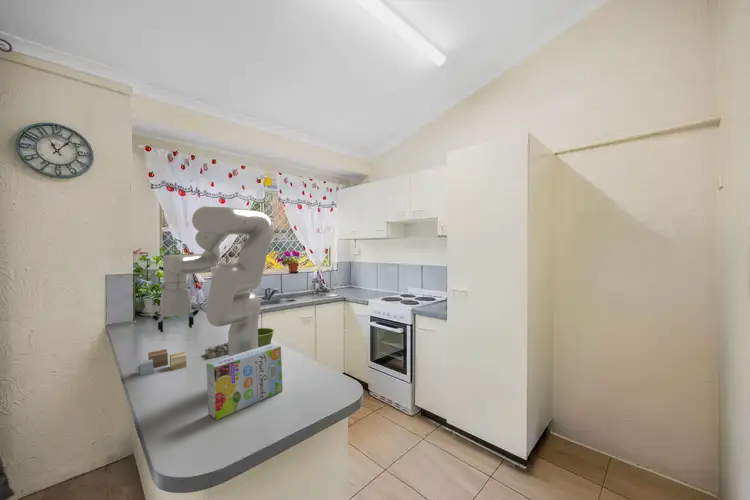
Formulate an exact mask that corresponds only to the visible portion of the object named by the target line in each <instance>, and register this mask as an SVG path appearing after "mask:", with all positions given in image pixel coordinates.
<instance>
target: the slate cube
mask: <svg viewBox="0 0 750 500" xmlns="http://www.w3.org/2000/svg"><path fill="white" fill-rule="evenodd" d="M153 373H154V368H153V359H151V360H148V359H146V360H141V361H139V375H140V376H144V375H148V374H153Z"/></svg>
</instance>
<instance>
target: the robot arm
mask: <svg viewBox="0 0 750 500" xmlns="http://www.w3.org/2000/svg"><path fill="white" fill-rule="evenodd" d="M192 214H193V215H192V217H191V223H192V225H193V228H194V229H195V230H197V233H195V237H194V240H195V242H196V244H197V245H198V246H199V247H200V248H202V249H203V250H204V251H203V252H202V253H195V254H166V255H164V257H163V261H162V263H163V265H162V266H163V283H160V284H159V285H158V287H159V289H161V288H162V290H161V295H160V301H159V302H160V303H159V305H157V306H156V307H154V308H152V309H150V310H148V314H149V316H150V317H151V318H152V319H153V320H155V321H156V322H157V330H158V331H160V333H163V332H164V321H163V320H164V318H169V317H177V316H184V315H188V327H189V329H193V326H194V323H195V322H194V318H195V316H196V315H197V314H198V313H199V312H200V309H201V308H202V306H201V304H197V303H195V302H192V296H191V291H190V289H189V288H188V287H187V286H188V285H187V281H188V280H187V275H193V274H194V275H195V274H204V273H207V272H209V271H210V270H212V268H213V267H215V265H216V264H217V263H218V261H219V259H220V254H221V249H220V246H221V245H222V244H223V242H224V241H225V240H226V239H227V238H228V237H229V235H238V236H239V235H240V236H241V235H244V236H245V235H247V236H248V238H247V239H246V240H245V241H244V243H243V244H242V246H241V248H240V250H239V256H238V259H237V262H235V263H227V264H223V265H221V266H219V267H217V268H216V270H215V271H214V272H213V275H212V277H211V280H210V285H209V286H210V287H209V291H208V292H209V293H208V298H207V302H206V310H205V311H206V312H205V314H206V319H207V321H208V322H209V324H211V326H213V327H225V326H228V325H230V326H229V330H228V334H227V342H228V357H229V356H233V355H236V354H239V353H243V352H246V351H249V350H252V349H256V348H258V328H259V318H260V313H261V300H260V298H259V296H258V295H257V294H256V293H254V292H252V291H253V290H256V289H257V288H258V287H259V286H260V285H261V283H262V280H263V275H264V271H265V267H266V266H265V265H266V262H267V256H268V252H269V249H270V246H271V244H272V241H273V236H274V225H273V222H272V220H271V219H270V217H269V216H268V215H267V214H266V213H264V212H262V211H259V210H255V209H247V208H238V207H231V206H230V207H227V206H226V207H225V206H206V205H205V206H201V207H199V208H197V209H196V210H195V211H194V213H192ZM192 307H194V308H195V309H194V310H193V311H192ZM158 311H159V312H160V314H159V316H157V315H156V314H155V313H156V312H158Z"/></svg>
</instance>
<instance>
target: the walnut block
mask: <svg viewBox="0 0 750 500" xmlns="http://www.w3.org/2000/svg"><path fill="white" fill-rule="evenodd" d="M168 354H169V353H168V351H167V349H166V348H165V349H160V350H154V351H149V352H148V353H147V355H148V357H147V358H148V359H147V360H151V359H153V369H156V368H161V367H165V366H168V365H169V359H168V358H169V356H168Z"/></svg>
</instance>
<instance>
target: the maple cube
mask: <svg viewBox="0 0 750 500" xmlns="http://www.w3.org/2000/svg"><path fill="white" fill-rule="evenodd" d="M169 367H170V370H171V371H175V370H176V371H177V370H181V369H185V368H188V367H187V354H186V352H185V351H180V352H179V351H178V352H175V353H170V354H169Z"/></svg>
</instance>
